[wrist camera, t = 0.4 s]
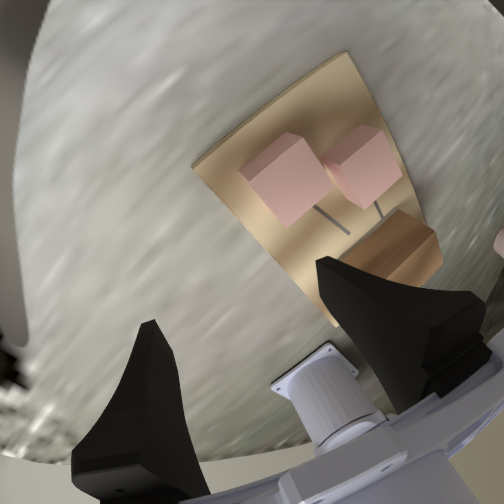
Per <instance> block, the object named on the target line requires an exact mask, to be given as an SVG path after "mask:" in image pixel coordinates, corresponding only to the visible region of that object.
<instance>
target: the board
mask: <svg viewBox="0 0 504 504" xmlns="http://www.w3.org/2000/svg"><path fill="white" fill-rule="evenodd" d="M360 125H365V126H369V127H373V128H377V129H381V130H382V131H383V133H384V135H385V137H386V139H387V141H388V143H389V146H390V148H391V150H392V152H393V154H394V157H395V159H396V161H397V163H398V166H399V168H400V170H401V173H402V175H403V176H402V177H400V178H399V179H398V180H397V181H396V182H395V183H394V184H393V185H392V186H391V187H390V188H388V189H387V190H386V191H385V192H384V193H383V194H382V195H381V196H380V197H379V198H377V199H376V200H375V201H374V202H373V203H372V204H371V205H370V206H369V207H367V208H366V209H365V210H364V209H362V208H361V207H359V206H357V205H356V204H354V203H353V202H351V201H349V200H348V199H346V197H345V196H344V194H343V192H342V191H341V189H340V187H339V186H338V184H337V182H336V181H335V179H334V177H333V176H332V174H331V173H330V171H329V169H328V168H327V166H326V165H325V163H324V161H323V160H322V158H321V157H322V156H323V155H324V154H326V153H327V152H328V151H329V150H330V149H332V148H333V147H334V146H335V145H336V144H338V143H339V142H340V141H341V140H343V139H344V138H345V137H346V136H348V135H349V134H350V133H351V132H352V131H354V130H355V129H356V128H357V127H359V126H360ZM285 132H289V133H292V134H295V135H298V136H301V137H303V138H304V139H305V141H306V142H307V144H308V145H309V147H310V148H311V150H312V151H313V153H314V155H315V156H316V158H317V159H318V161H319V162H320V164H321V165H322V167H323V169H324V170H325V172H326V173H327V175H328V176H329V178H330V180H331V181H332V183H333V184H334V186H335V188H334V189H333V190H331V191H330V192H329V193H328V194H327V195H326V196H324V197H323V198H322V199H321V200H320V201H319V202H317V203H316V204H315V205H314V206H313V207H312V208H310V209H309V210H308V211H307V212H306V213H304V214H303V215H302V216H301V217H300V218H299V219H297V220H296V221H295V222H294V223H293V224H292V225H290V226H289V227H288V228H287V227H286V226H285V225H284V224H283V223H282V222H281V221H280V220H279V219H278V218H277V217H276V216H275V215H274V214H273V213H272V212H271V211H270V209H269V208H268V207H267V206H266V205H265V203H264V202H263V201H262V200H261V198H260V197H259V196H258V195H257V194H256V192H255V191H254V190H253V189H252V188H251V186H250V185H249V184H248V183H247V182H246V180H245V179H244V178H243V177H242V176H241V174H240V173H239V172H238V171H239V170H240V169H241V168H243V167H244V166H245V165H246V164H247V163H249V162H250V161H251V160H252V159H253V158H255V157H256V156H257V155H258V154H259V153H261V152H262V151H263V150H264V149H265V148H267V147H268V146H269V145H270V144H272V143H273V142H274V141H275V140H277V139H278V138H279V137H280V136H282V135H283V134H284V133H285ZM191 168H192V169H193V171H194V172H195V173H196V174H197V175H198V176H199V177H200V178H201V179H202V180H203V181H204V182H205V184H206V185H207V186H208V187H209V188H210V189H211V190H212V191H213V192H214V193H215V194H216V196H217V197H218V198H219V199H220V200H221V201H222V202H223V203H224V204H225V205H226V206H227V208H228V209H229V210H230V211H231V212H232V213H233V214H234V215H235V216H236V217H237V218H238V220H239V221H240V222H241V223H242V224H243V225H244V226H245V227H246V228H247V229H248V231H249V232H250V233H251V234H252V235H253V236H254V237H255V238H256V239H257V240H258V242H259V243H260V244H261V245H262V246H263V247H264V248H265V249H266V250H267V252H268V253H269V254H270V255H271V256H272V257H273V258H274V259H275V260H276V261H277V263H278V264H279V265H280V266H281V267H282V268H283V269H284V270H285V271H286V273H287V274H288V275H289V276H290V277H291V278H292V279H293V280H294V281H295V283H296V284H297V285H298V286H299V287H300V288H301V289H302V290H303V291H304V293H305V294H306V295H307V296H308V297H309V298H310V299H311V300H312V302H313V303H314V304H315V305H316V306H317V307H318V308H319V309H320V310H321V312H322V313H323V314H324V315H325V316H326V317H327V318H328V319H329V321H330V322H331V323H332V324H333V325H334V326H335V327H338V326H339V324H338V322H337V321H336V320H335V319H334V318H333V316H332V315H331V314H330V312H329V311H328V309H327V308H326V306H325V305H324V303H323V301H322V300H321V298H320V296H319V288H318V279H317V271H316V263H315V260H317V259H320V258H323V257H325V256H330V257H332V258H335V259H337V258H339V257H340V256H341V255H342V254H343V253H344V252H345V251H347V250H348V249H349V248H350V247H351V246H352V245H353V244H354V243H356V242H357V241H358V240H359V239H360V238H361V237H362V236H363V235H364V234H366V233H367V232H368V231H369V230H370V229H371V228H372V227H373V226H374V225H376V224H377V223H378V222H379V221H380V220H381V219H382V218H383V217H384V216H385V215H386V214H388V213H389V212H390V211H391V210H392V209H393V208H394V207H396V208H398V209H400V210H401V211H403V212H405V213H406V214H408V215H410V216H411V217H413V218H415V219H416V220H418V221H420V222H421V223H423V224H425V225H426V223H425V220H424V217H423V214H422V211H421V208H420V205H419V202H418V200H417V197H416V194H415V191H414V189H413V186H412V184H411V181H410V178H409V176H408V173H407V171H406V168H405V166H404V164H403V161H402V159H401V157H400V154H399V152H398V150H397V147H396V145H395V143H394V141H393V138H392V136H391V134H390V132H389V130H388V128H387V126H386V123H385V121H384V119H383V117H382V115H381V113H380V111H379V109H378V107H377V105H376V103H375V101H374V99H373V98H372V96H371V94H370V92H369V90H368V88H367V86H366V84H365V83H364V81H363V79H362V77H361V75H360V74H359V72H358V70H357V68H356V67H355V65H354V63H353V62H352V60H351V58H350V57H349V55H348V53H347V52H342V53H338V54H336V55H335V56H333V57H332V58H330V59H329V60H327V61H326V62H324V63H323V64H321V65H320V66H318V67H317V68H315V69H314V70H313V71H311V72H310V73H308V74H307V75H305V76H304V77H303V78H301V79H300V80H298V81H297V82H295V83H294V84H293V85H291V86H290V87H289V88H287V89H286V90H284V91H283V92H282V93H280V94H279V95H278V96H276V97H275V98H274V99H272V100H271V101H270V102H268V103H267V104H266V105H264V106H263V107H262V108H261V109H259V110H258V111H257V112H255V113H254V114H253V115H252V116H250V117H249V118H248V119H246V120H245V121H244V122H243V123H241V124H240V125H239V126H238V127H236V128H235V129H234V130H233V131H232V132H230V133H229V134H228V135H227V136H225V137H224V138H223V139H222V140H221V141H219V142H218V143H217V144H216V145H215V146H214V147H212V148H211V149H210V150H209V151H208V152H207V153H205V154H204V155H203V156H202V157H201V158H200V159H198V160H197V161H196V162H195V163H194V164H193V165H192V166H191Z"/></svg>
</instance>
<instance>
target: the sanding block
mask: <svg viewBox="0 0 504 504" xmlns="http://www.w3.org/2000/svg"><path fill="white" fill-rule="evenodd" d="M337 260H339V261H342V262H344V263H346V264H348V265H351V266H353V267H355V268H358V269H360V270H363V271H365V272H367V273H370V274H373V275H375V276H378V277H381V278H384V279H387V280H390V281H393V282H397V283H401V284H405V285H409V286H414V287H420V286H421V285H422V284H423V283H424V282H425V281H426V280H427V279H428V278H429V277H430V276H431V275H432V274H433V273H434V272H435V271H436V270H437V269H438V268H439V267H440V266H441V265H442V264H443V263H444V262H443V259H442V255H441V251H440V247H439V244H438V240H437V236H436V233H435V231H434V230H433V229H431V228H429V227H428V226H426V225H425V224H423V223H421V222H420V221H418V220H416V219H415V218H413V217H411V216H410V215H408V214H406V213H405V212H403V211H401V210H400V209H398V208H396V207H394V208H393V209H392V210H391V211H390V212H389V213H388V214H386V215H385V216H384V217H383V218H382V219H381V220H380V221H379V222H378V223H377V224H376V225H374V226H373V227H372V228H371V229H370V230H369V231H368V232H367V233H366V234H364V235H363V236H362V237H361V238H360V239H359V240H358V241H357V242H356V243H354V244H353V245H352V246H351V247H350V248H349V249H348V250H347V251H345V252H344V253H343V254H342V255H341V256H340V257H339V258H337Z"/></svg>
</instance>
